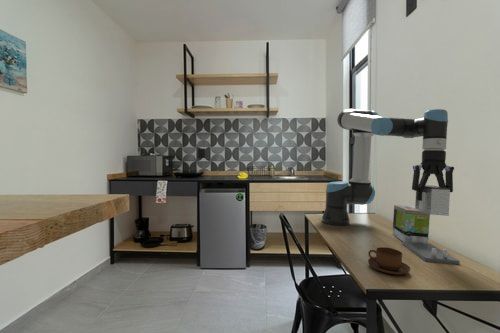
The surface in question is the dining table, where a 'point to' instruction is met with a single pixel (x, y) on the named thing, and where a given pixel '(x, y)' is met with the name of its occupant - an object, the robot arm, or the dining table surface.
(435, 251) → the pin tray
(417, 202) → the block
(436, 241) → the dining table surface
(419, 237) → the tea box
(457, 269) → the dining table surface
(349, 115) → the robot arm
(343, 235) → the dining table surface
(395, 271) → the cup and saucer
